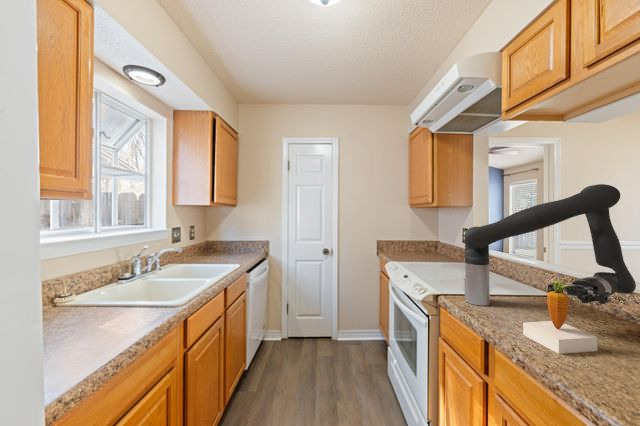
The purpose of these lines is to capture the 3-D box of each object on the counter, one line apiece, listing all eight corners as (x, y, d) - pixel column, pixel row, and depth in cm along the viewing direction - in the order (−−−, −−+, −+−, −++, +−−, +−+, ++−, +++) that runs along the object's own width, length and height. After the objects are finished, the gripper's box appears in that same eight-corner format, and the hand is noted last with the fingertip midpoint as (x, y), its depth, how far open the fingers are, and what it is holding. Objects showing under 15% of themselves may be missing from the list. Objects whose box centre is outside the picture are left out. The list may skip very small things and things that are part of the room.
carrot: (557, 325, 86) (558, 278, 86) (573, 332, 81) (573, 282, 81) (542, 325, 86) (543, 278, 86) (557, 333, 81) (557, 282, 81)
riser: (523, 334, 89) (523, 322, 89) (557, 332, 90) (557, 320, 90) (558, 353, 77) (558, 339, 77) (597, 351, 78) (597, 337, 78)
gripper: (565, 273, 99) (539, 279, 92) (620, 282, 86) (596, 289, 79) (565, 294, 99) (539, 301, 92) (621, 306, 86) (596, 315, 79)
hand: (565, 295), depth 86 cm, fingers open, 8 cm apart
